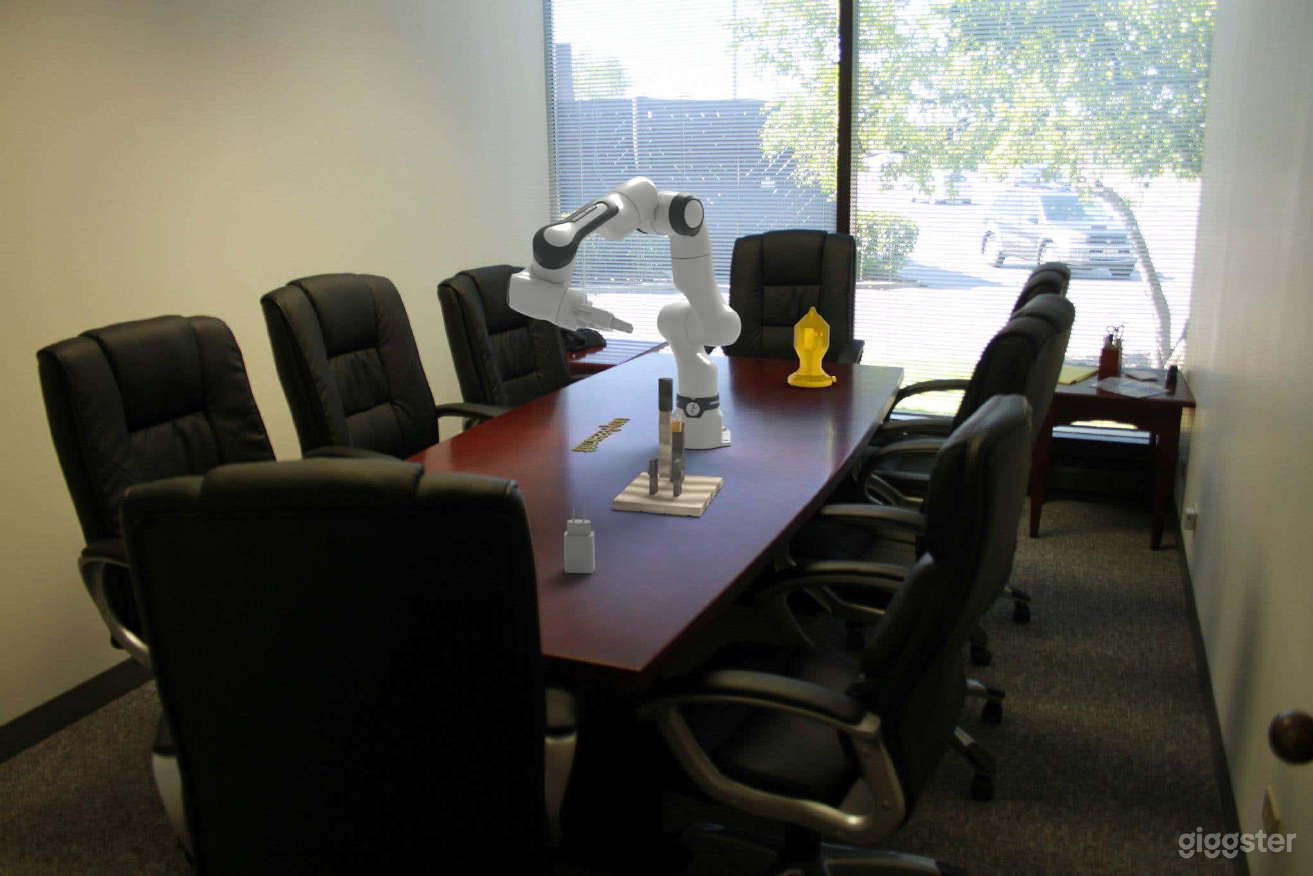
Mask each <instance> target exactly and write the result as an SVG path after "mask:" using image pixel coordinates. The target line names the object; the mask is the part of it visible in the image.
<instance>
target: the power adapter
mask: <svg viewBox="0 0 1313 876" xmlns="http://www.w3.org/2000/svg"><path fill="white" fill-rule="evenodd" d="M575 515H576V514H575V508H572V519H568V520H566V522H567V523H566V524H567V529H566V530H565V532H564V534H563V550H564V552H563V553H564V557H563V558H564V572H565V573H567V574H568V573H569V574H570V573H571V574H593V573H594V572H595V570H596V560H595V559H596V557H595V555H596V552H595V549H596V548H595V531H592V530H591V526H592V524H591V520H588V519H585V509H584V508H583V509H582V519H578V518H577V519H576V518H575V517H576V516H575Z"/></svg>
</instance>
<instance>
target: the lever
mask: <svg viewBox="0 0 1313 876" xmlns="http://www.w3.org/2000/svg"><path fill="white" fill-rule="evenodd" d="M673 394H674V379H673V378H671V377H660V378H658V395H657V397H658V398H657V399H658V401H657V403H658V405H657V406H658V473H659V478H667V479H670V477H671V476H672V413H673V411H674V405H673V404H674V395H673Z"/></svg>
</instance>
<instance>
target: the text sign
mask: <svg viewBox="0 0 1313 876" xmlns="http://www.w3.org/2000/svg"><path fill="white" fill-rule="evenodd" d="M630 420H631V418H627V417H626V418H625V417H623V418H622V417H615V418H613V419H612V420H611V421H609V422H608V424H600V425H598V428H601V430H596V431H595V433H592V434H591V436H588V437H587V439H584V440H583V441H582V442H580V443H578V445H575V447H574V448H571V452H580V451H584V452H583V453H588V452H587V451H594V452H596V451H597V449H598V448H599V446H598V445H599V443H600V442H603V441H604V439H606V438H608V437H609V436H610V435H612V434H613V432H614V433H615V432H621V431H622V428H621V427H623V426H624V425H625V424H627V423H628V422H630ZM591 438H592V439H591ZM602 440H603V441H602ZM587 442H595V443H587ZM582 444H585V445H582ZM595 445H596V446H595ZM592 447H595V448H592ZM597 447H598V448H597ZM575 448H578V449H575ZM590 449H591V450H590ZM595 450H596V451H595Z"/></svg>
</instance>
